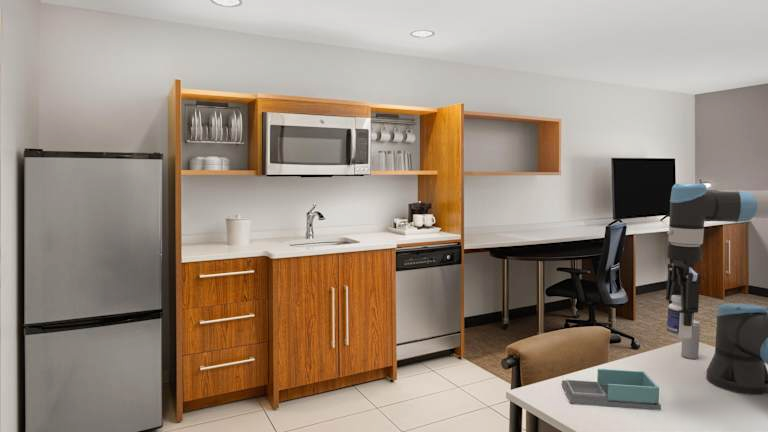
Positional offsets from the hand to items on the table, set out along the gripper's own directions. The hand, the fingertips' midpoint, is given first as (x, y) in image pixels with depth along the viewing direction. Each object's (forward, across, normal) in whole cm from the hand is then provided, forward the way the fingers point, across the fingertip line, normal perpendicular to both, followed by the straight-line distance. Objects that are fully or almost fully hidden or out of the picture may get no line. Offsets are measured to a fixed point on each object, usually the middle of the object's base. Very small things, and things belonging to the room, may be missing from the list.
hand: (679, 333), depth 129 cm
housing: (+18, -2, -11) cm, 21 cm away
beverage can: (+19, -37, +19) cm, 46 cm away
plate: (+19, -2, -16) cm, 25 cm away
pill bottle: (+1, 0, 0) cm, 1 cm away
